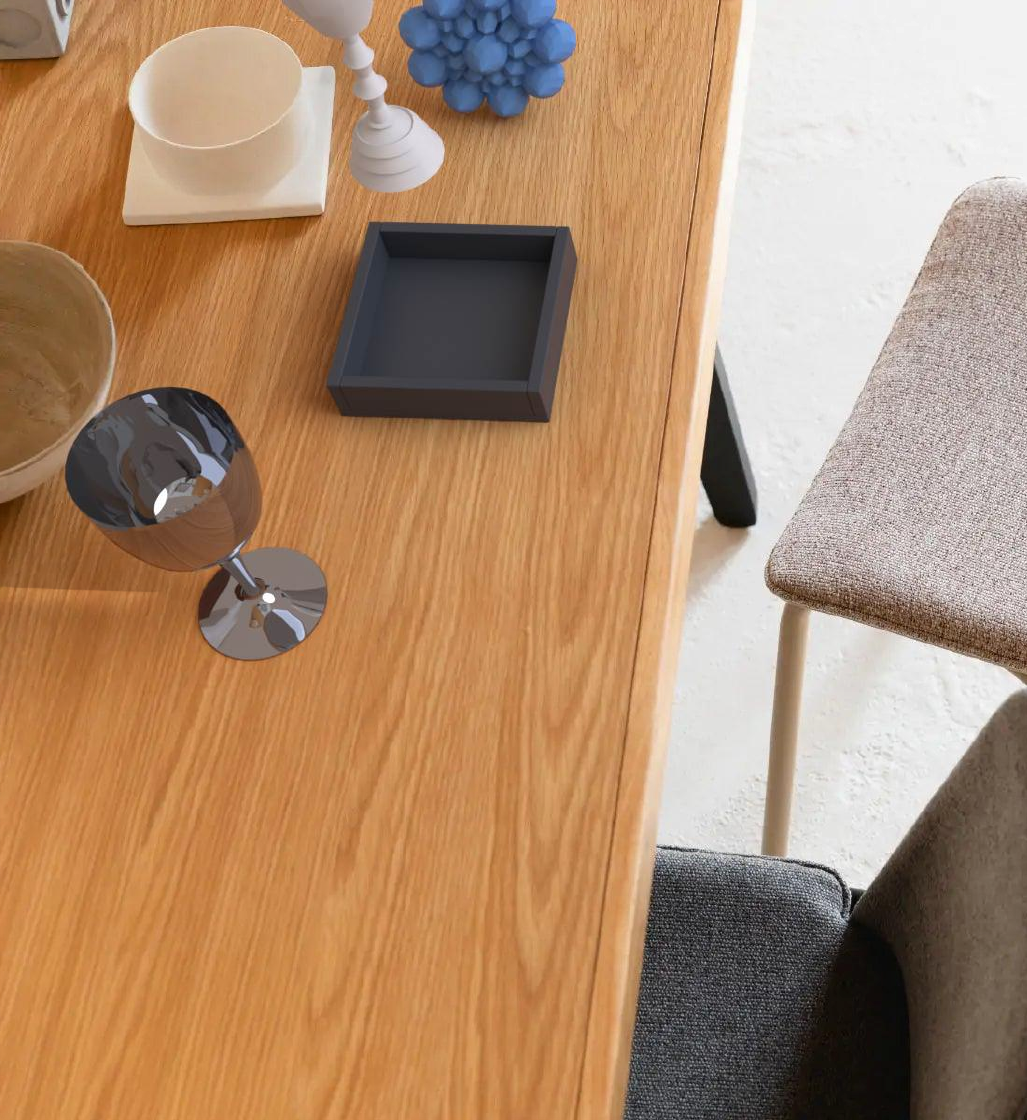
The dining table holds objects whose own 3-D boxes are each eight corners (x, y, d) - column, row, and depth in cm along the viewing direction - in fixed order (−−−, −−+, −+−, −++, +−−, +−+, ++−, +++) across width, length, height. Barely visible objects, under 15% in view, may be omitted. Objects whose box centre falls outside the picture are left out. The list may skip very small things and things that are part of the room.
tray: (341, 416, 90) (324, 385, 87) (382, 254, 96) (368, 220, 93) (549, 422, 89) (539, 392, 86) (578, 259, 95) (569, 225, 93)
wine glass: (267, 692, 81) (151, 556, 68) (160, 624, 83) (27, 479, 70) (364, 581, 84) (271, 431, 71) (258, 518, 86) (149, 361, 73)
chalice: (464, 199, 78) (358, -105, 62) (332, 217, 77) (192, -85, 61) (458, 99, 81) (357, -213, 65) (332, 116, 81) (200, -194, 65)
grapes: (601, 70, 104) (571, -79, 93) (587, 142, 100) (555, -5, 90) (434, 66, 104) (386, -83, 94) (416, 137, 101) (364, -9, 90)
